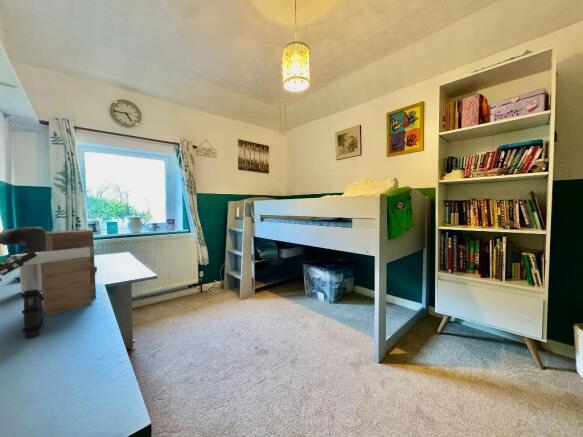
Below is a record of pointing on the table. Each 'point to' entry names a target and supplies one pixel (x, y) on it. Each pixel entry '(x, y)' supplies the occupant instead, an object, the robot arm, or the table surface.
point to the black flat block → (32, 313)
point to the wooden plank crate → (68, 273)
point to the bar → (57, 255)
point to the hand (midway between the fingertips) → (33, 252)
